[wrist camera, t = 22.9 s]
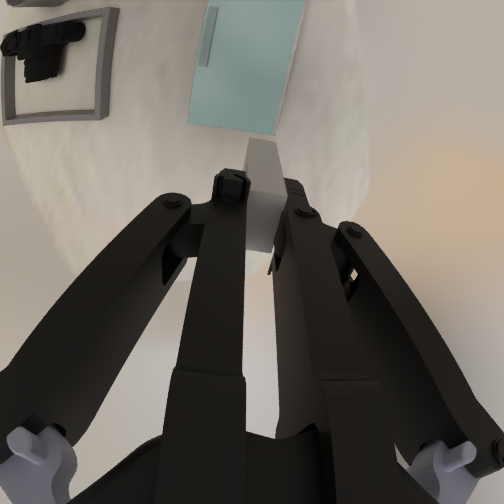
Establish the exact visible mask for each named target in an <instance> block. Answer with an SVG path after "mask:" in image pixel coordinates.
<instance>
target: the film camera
mask: <svg viewBox="0 0 504 504" xmlns="http://www.w3.org/2000/svg"><path fill="white" fill-rule="evenodd" d="M85 29H86V28H85V25H84V24H83V23H81V22H58V23H52V24H47V25H42V24H34V25H31V26H27V27H26V29H25V30H22V31H20V32H18V31H19V30H15V31H13V32H11V33H9V34H7V36H6V37H5V38H4V40H3V42H2V44H1V46H0V50H1V51H2V54H3V57H6V56H8V57H13V56H17V59H18V60H24V59H25V61H24V65H25V68H24V77H25V78H26V80H25V83H29V82H36V81H41V80H46V79H48V78H54V77H56V76H57V71H58V70H59V58H60V55H61V54H60V51H62V50H63V44H64V43H65V45H67V44H68V42H75V41H79V40H81V39H82V38H83V36H84V34H85Z"/></svg>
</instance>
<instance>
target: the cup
mask: <svg viewBox="0 0 504 504" xmlns="http://www.w3.org/2000/svg"><path fill="white" fill-rule="evenodd" d="M66 1H68V0H6V3H7V5H9V6H11V7H54V6H59V5H61V4H63V3H65V2H66Z"/></svg>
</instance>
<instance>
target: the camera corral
mask: <svg viewBox="0 0 504 504" xmlns="http://www.w3.org/2000/svg"><path fill="white" fill-rule="evenodd" d="M118 12H119V9H117V8H112V7H107V8H101V9H94V10H89V11H83V12H78V13H74V14H69V15H65V16H61V17H57V18H53V19H49V20H46V21H42V22H39V23H36V24H42V25H47V24H52V23H58V22H74V21H79V20H84V19H90V18H96V17H103V18H102V24H101V31H100V38H99V47H98V57H97V68H96V84H95V110H72V111H55V112H42V113H32V114H23V115H16V114H15V56H13V57H8V56H6V57H3V54H2V63H1V103H2V119H3V126H6V125H15V124H25V123H37V122H52V121H81V120H102V119H103V118H105V117H107V116H109V92H110V76H111V64H112V54H113V46H114V38H115V31H116V24H117V18H118ZM33 25H34V24H33ZM30 26H31V25H30ZM25 29H26V27H24V28H21V29H18V30H19V31H18V32H20V31H22V30H25ZM10 33H11V32H10ZM7 34H9V33H7ZM7 34H5V35H4V36H3V40H4V38H5V37H6V36H7Z"/></svg>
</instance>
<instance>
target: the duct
mask: <svg viewBox="0 0 504 504" xmlns="http://www.w3.org/2000/svg"><path fill="white" fill-rule="evenodd" d="M306 4H307V0H303V4H302V8H301V12H300V16H299V20H298V24H297V29H296V33H295V37H294V41H293V45H292V49H291V54H290V58H289V62H288V66H287V71H286V75H285V79H284V83H283V88H282V92H281V96H280V100H279V105H278V109H277V113H276V118H275V122H274V126H273V131H272V135H274V136H275V134H276V130H277V125H278V121H279V117H280V113H281V108H282V104H283V100H284V96H285V92H286V87H287V83H288V79H289V75H290V71H291V66H292V62H293V58H294V54H295V50H296V46H297V41H298V37H299V33H300V29H301V25H302V21H303V16H304V12H305V8H306Z"/></svg>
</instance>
